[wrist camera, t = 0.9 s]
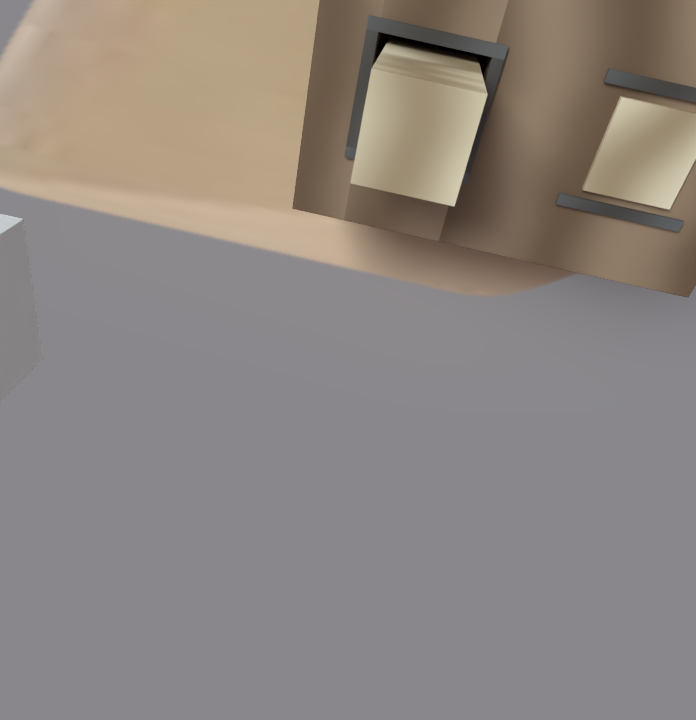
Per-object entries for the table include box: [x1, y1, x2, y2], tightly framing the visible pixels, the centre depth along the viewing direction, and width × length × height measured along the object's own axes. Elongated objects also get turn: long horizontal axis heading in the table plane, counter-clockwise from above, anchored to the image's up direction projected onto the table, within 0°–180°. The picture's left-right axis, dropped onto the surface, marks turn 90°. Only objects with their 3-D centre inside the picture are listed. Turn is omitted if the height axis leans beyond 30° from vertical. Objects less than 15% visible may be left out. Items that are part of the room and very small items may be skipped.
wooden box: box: [293, 0, 696, 297], centre depth 30 cm, size 20×12×9 cm, turn 80°
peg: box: [350, 38, 488, 207], centre depth 25 cm, size 4×4×8 cm
